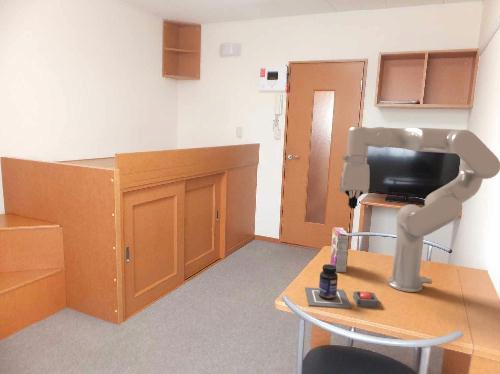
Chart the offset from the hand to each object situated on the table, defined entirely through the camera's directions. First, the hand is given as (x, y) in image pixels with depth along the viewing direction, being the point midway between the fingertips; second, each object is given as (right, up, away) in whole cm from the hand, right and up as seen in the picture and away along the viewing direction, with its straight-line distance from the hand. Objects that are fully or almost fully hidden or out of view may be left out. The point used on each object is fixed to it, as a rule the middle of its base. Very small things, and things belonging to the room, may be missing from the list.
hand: (352, 207), depth 145 cm
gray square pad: (-12, -31, -12) cm, 35 cm away
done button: (+1, -31, -14) cm, 34 cm away
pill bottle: (-12, -31, -12) cm, 35 cm away
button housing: (+1, -32, -14) cm, 35 cm away
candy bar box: (-1, -27, +18) cm, 32 cm away
